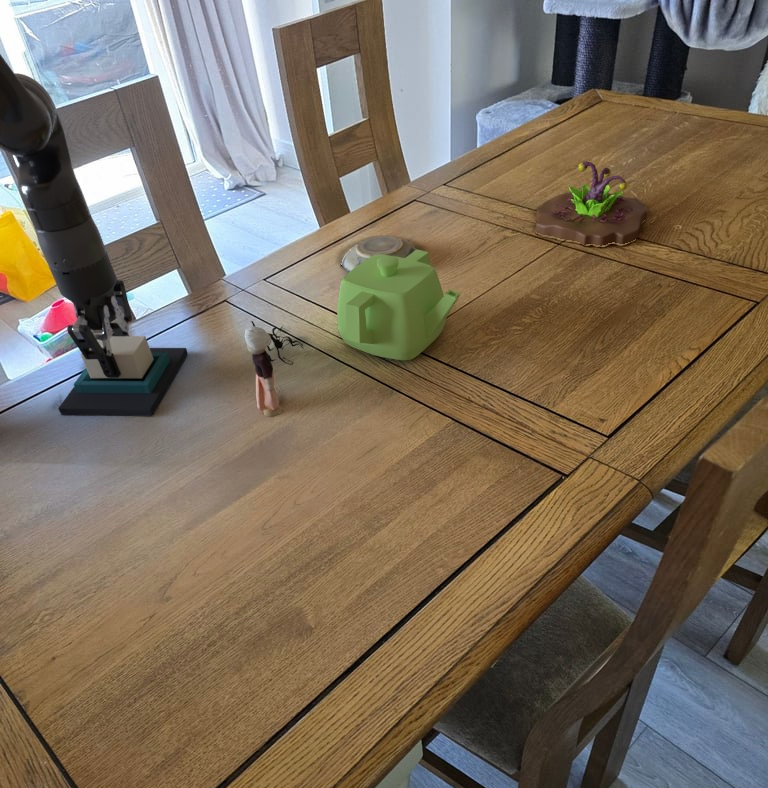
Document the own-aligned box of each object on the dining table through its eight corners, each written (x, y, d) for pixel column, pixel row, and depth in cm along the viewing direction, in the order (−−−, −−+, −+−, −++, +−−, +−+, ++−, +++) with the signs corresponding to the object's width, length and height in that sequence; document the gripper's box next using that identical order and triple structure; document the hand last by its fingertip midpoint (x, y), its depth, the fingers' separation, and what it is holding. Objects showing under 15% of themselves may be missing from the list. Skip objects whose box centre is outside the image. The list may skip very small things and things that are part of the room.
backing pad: (61, 415, 100) (53, 399, 98) (105, 354, 111) (99, 339, 109) (152, 416, 98) (146, 400, 96) (188, 354, 109) (183, 339, 107)
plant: (553, 198, 141) (559, 139, 133) (652, 209, 134) (664, 147, 126) (522, 240, 129) (526, 177, 121) (629, 253, 122) (641, 187, 114)
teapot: (488, 327, 108) (491, 245, 99) (421, 393, 97) (418, 309, 88) (390, 301, 116) (384, 224, 107) (318, 361, 105) (304, 280, 96)
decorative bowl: (349, 246, 133) (331, 282, 123) (348, 226, 131) (329, 262, 120) (427, 247, 131) (415, 284, 120) (427, 227, 128) (415, 264, 118)
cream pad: (90, 378, 102) (80, 354, 99) (104, 359, 105) (94, 336, 103) (141, 378, 101) (132, 354, 98) (153, 359, 104) (145, 335, 101)
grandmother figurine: (250, 400, 99) (229, 320, 90) (275, 391, 100) (257, 311, 91) (268, 428, 94) (249, 346, 85) (295, 418, 95) (278, 337, 86)
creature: (300, 344, 111) (249, 342, 109) (302, 313, 108) (250, 310, 106) (305, 370, 106) (252, 369, 104) (307, 339, 102) (252, 336, 100)
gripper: (73, 231, 96) (116, 339, 108) (23, 281, 86) (77, 394, 98) (124, 230, 95) (161, 339, 107) (79, 280, 85) (126, 394, 97)
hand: (120, 365), depth 103 cm, fingers closed on cream pad, 5 cm apart
